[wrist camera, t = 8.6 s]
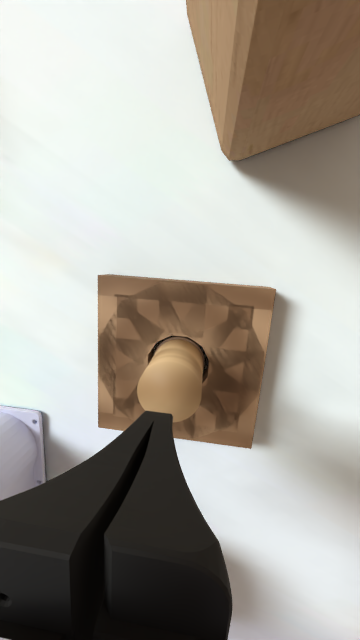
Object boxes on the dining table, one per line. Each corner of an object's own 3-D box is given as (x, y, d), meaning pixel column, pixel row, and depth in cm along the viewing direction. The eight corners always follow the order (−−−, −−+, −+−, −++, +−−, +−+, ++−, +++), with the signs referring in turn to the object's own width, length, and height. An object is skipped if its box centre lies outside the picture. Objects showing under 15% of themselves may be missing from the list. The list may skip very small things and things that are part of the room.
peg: (205, 374, 21) (204, 425, 15) (160, 374, 22) (138, 422, 15) (204, 329, 21) (202, 361, 14) (157, 330, 21) (132, 361, 14)
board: (247, 432, 22) (251, 448, 20) (107, 413, 23) (98, 427, 21) (269, 287, 19) (276, 289, 17) (108, 274, 20) (97, 275, 18)
